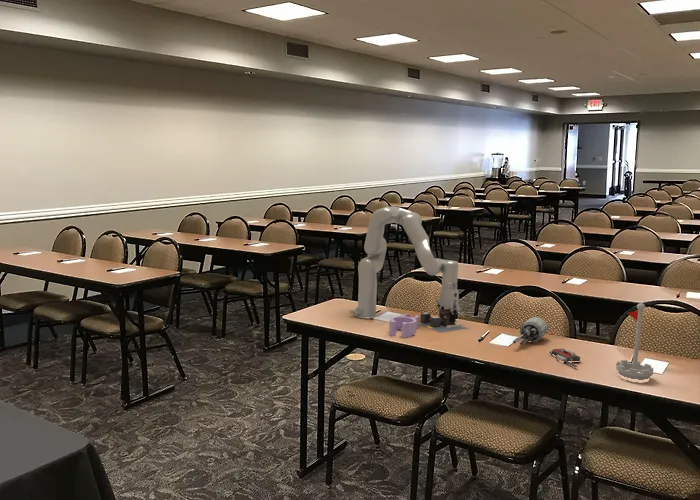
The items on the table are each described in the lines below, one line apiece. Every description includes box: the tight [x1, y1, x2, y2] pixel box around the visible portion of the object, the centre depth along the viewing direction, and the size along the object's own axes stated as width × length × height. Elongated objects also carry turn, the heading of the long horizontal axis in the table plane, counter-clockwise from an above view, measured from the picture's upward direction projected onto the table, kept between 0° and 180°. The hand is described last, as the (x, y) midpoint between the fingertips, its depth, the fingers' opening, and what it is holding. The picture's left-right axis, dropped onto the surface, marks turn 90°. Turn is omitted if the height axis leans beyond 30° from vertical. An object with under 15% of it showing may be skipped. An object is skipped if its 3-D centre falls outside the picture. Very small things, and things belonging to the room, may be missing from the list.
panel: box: [418, 321, 469, 333], centre depth 295 cm, size 18×20×2 cm
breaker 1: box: [419, 312, 432, 323], centre depth 300 cm, size 4×3×5 cm
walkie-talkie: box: [549, 348, 581, 368], centre depth 249 cm, size 9×4×20 cm
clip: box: [388, 313, 420, 339], centre depth 284 cm, size 20×12×7 cm, turn 153°
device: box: [512, 316, 548, 346], centre depth 272 cm, size 31×10×10 cm, turn 149°
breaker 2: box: [430, 315, 441, 327], centre depth 293 cm, size 4×3×5 cm
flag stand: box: [615, 302, 654, 380], centre depth 229 cm, size 13×13×30 cm
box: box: [438, 308, 456, 327], centre depth 297 cm, size 6×6×7 cm
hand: (447, 319), depth 297 cm, fingers open, 7 cm apart
